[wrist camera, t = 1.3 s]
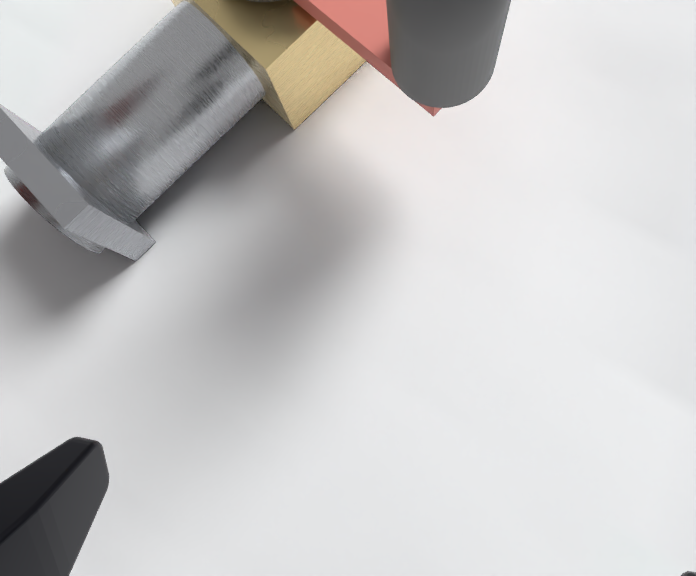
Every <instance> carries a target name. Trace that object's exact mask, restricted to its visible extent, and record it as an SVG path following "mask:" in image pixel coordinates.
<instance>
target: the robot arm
mask: <svg viewBox="0 0 696 576" xmlns="http://www.w3.org/2000/svg"><path fill="white" fill-rule="evenodd" d="M108 484H109V473H108V468H107V464H106V459H105V455H104V451H103V447H102V445H101V444H100V443H99V442H98V441H95V440H90V439H86V438H81V437H74V438H71V439H69V440H67V441H66V442H64V443H62V444H61V445H59V446H58V447H56V448H55V449H53V450H51V451H50V452H48V453H47V454H45V455H44V456H42V457H40V458H39V459H37V460H36V461H34V462H33V463H31V464H29V465H28V466H26V467H25V468H23V469H22V470H20V471H18V472H17V473H15V474H14V475H12V476H11V477H9V478H8V479H6V480H4V481H3V482H1V483H0V576H69V574H70V572H71V570H72V568H73V565H74V563H75V561H76V559H77V556H78V554H79V552H80V550H81V547H82V545H83V543H84V541H85V538H86V536H87V534H88V532H89V529H90V527H91V525H92V523H93V520H94V518H95V516H96V514H97V511H98V509H99V507H100V505H101V502H102V500H103V498H104V496H105V493H106V491H107V488H108ZM681 576H696V572H691V571H687V572H685V573H683V574H682V575H681Z"/></svg>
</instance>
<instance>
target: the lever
mask: <svg viewBox="0 0 696 576" xmlns="http://www.w3.org/2000/svg"><path fill="white" fill-rule="evenodd" d="M247 1H252V2H273V1H279V0H247ZM293 1H295V2H296V3H297V4H298V5H299V6H301V7H302V8H303V9H304V10H305V11H307V12H308V13H309V14H310V15H311V16H313V17H314V18H315V19H316V20H318V21H319V22H320V23H321V24H322V25H324V26H325V27H326V28H327V29H328V30H330V31H331V32H332V33H333V34H334V35H336V36H337V37H338V38H339V39H340V40H342V41H343V42H344V43H345V44H347V45H348V46H349V47H350V48H351V49H353V50H354V51H355V52H356V53H357V54H359V55H360V56H361V57H362V58H363V59H365V60H366V61H367V62H368V63H369V64H371V65H372V66H373V67H374V68H376V69H377V70H378V71H379V72H380V73H382V74H383V75H384V76H385V77H386V78H388V79H389V80H390V81H391V82H392V83H394V84H395V85H396V86H397V87H398V88H400V89H401V90H402V91H403V92H404V93H405V94H406V95H407V96H408V97H410V98H411V99H412V100H414V101H415V102H417V103H418V104H419V105H420V106H421V107H423V108H424V109H425V110H426V111H427V112H429V113H430V114H431V115H432V116H435V115H436V114H437V113H438V111H439V110H440V109H441V108H447V107H453V106H457V105H460V104H463V103H466V102H467V101H469V100H471V99H473V98H474V97H475V96H477V95H478V94H479V93H480V92H481V91H482V90H483V89H484V88H485V86H486V85H487V84H488V82H489V80H490V79H491V76H492V74H493V71H494V67H495V63H496V59H497V55H498V51H499V47H500V43H501V39H502V35H503V31H504V27H505V23H506V19H507V14H508V10H509V6H510V2H511V0H293Z"/></svg>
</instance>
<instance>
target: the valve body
mask: <svg viewBox="0 0 696 576" xmlns="http://www.w3.org/2000/svg"><path fill="white" fill-rule="evenodd" d="M171 1H172V2H173V4H174V5H175V8H174V9H173V10H172V11H171V12H170V13H168V14H167V15H166V16H165V17H164V18H163V19H162V20H161V21H160V22H159V23H158V24H157V25H156V26H155V27H154V28H153V29H152V30H150V31H149V32H148V33H147V34H146V35H145V36H144V37H143V38H142V39H141V40H140V41H139V42H138V43H137V44H136V45H135V46H134V47H132V48H131V49H130V50H129V51H128V52H127V53H126V54H125V55H124V56H123V57H122V58H121V59H120V60H119V61H118V62H117V63H116V64H114V65H113V66H112V67H111V68H110V69H109V70H108V71H107V72H106V73H105V74H104V75H103V76H102V77H101V78H100V79H99V80H98V81H96V82H95V83H94V84H93V85H92V86H91V87H90V88H89V89H88V90H87V91H86V92H85V93H84V94H83V95H82V96H81V97H80V98H78V99H77V100H76V101H75V102H74V103H73V104H72V105H71V106H70V107H69V108H68V109H67V110H66V111H65V112H64V113H63V114H62V115H60V116H59V117H58V118H57V119H56V120H55V121H54V122H53V123H52V124H51V125H50V126H49V127H48V128H47V129H46V130H45V131H44V132H40V131H39V130H37V129H36V128H35V127H33V126H32V125H30V124H29V123H27V122H26V121H24V120H23V119H21V118H20V117H18V116H17V115H15V114H14V113H13V112H11V111H10V110H8V109H7V108H5V107H4V106H2V105H1V104H0V158H1V159H2V160H3V161H4V162H5V163H6V164H7V165H8V166H6V167H5V169H4V172H5V175H6V177H7V178H8V180H9V181H10V183H11V184H12V185H13V187H14V188H15V189H16V190H17V192H18V193H19V194H20V195H21V196H22V197H23V198H24V199H25V200H26V201H27V202H28V203H29V204H30V205H31V206H32V207H33V208H34V209H35V210H36V211H37V212H38V213H39V214H40V215H41V216H42V217H43V218H45V219H46V220H47V221H48V222H49V223H50V224H52V225H53V226H54V227H55V228H57V229H58V230H59V231H60V232H62V233H63V234H64V235H66V236H67V237H68V238H70V239H71V240H73V241H74V242H76V243H77V244H79V245H80V246H82V247H84V248H85V249H87V250H89V251H92V252H94V253H101V252H102V251H103V250H104V249H105V248H108V249H110V250H112V251H115V252H117V253H119V254H121V255H124V256H126V257H128V258H130V259H132V260H135V261H136V260H137V259H138V258H140V257H141V256H142V255H143V254H144V253H145V252H146V251H147V250H148V249H149V248H150V247H151V246H152V245H153V244H154V243H155V241H154V240H153V239H152V237H151V236H150V235H149V234H148V233H147V232H146V231H145V230H144V229H143V228H142V227H141V226H140V225H139V223H138V222H137V221H136V220H135V219H136V218H137V217H138V216H140V215H141V214H142V213H143V212H144V211H145V210H146V209H147V208H148V207H149V206H150V205H151V204H152V203H153V202H154V201H155V200H156V199H157V198H158V197H159V196H160V195H161V194H162V193H164V192H165V191H166V190H167V189H168V188H169V187H170V186H171V185H172V184H173V183H174V182H175V181H176V180H177V179H178V178H179V177H180V176H181V175H182V174H183V173H184V172H185V171H187V170H188V169H189V168H190V167H191V166H192V165H193V164H194V163H195V162H196V161H197V160H198V159H199V158H200V157H201V156H202V155H203V154H204V153H205V152H206V151H207V150H208V149H210V148H211V147H212V146H213V145H214V144H215V143H216V142H217V141H218V140H219V139H220V138H221V137H222V136H223V135H224V134H225V133H226V132H227V131H228V130H229V129H230V128H231V127H232V126H234V125H235V124H236V123H237V122H238V121H239V120H240V119H241V118H242V117H243V116H244V115H245V114H246V113H247V112H248V111H249V110H250V109H251V108H252V107H253V106H254V105H255V104H257V103H258V102H259V101H260V100H261V99H263V100H264V101H265V102H266V103H267V104H268V105H269V106H270V107H271V108H272V109H273V110H274V111H275V112H276V113H277V114H278V115H279V116H280V117H281V118H282V119H283V120H285V121H286V122H287V123H288V124H289V125H290V126H291V127H292V128H293V129H294V130H295V129H296V128H297V127H298V126H299V125H300V124H301V123H302V122H303V121H304V120H305V119H306V118H307V117H308V116H309V115H310V114H311V113H313V112H314V111H315V110H316V109H317V108H318V107H319V106H320V105H321V104H322V103H323V102H324V101H325V100H326V99H327V98H328V97H329V96H330V95H331V94H332V93H333V92H334V91H335V90H336V89H337V88H339V87H340V86H341V85H342V84H343V83H344V82H345V81H346V80H347V79H348V78H349V77H350V76H351V75H352V74H353V73H354V72H355V71H356V70H357V69H358V68H359V67H360V66H361V65H362V64H363V63H365V62H366V60H365V59H363V58H362V57H361V56H360V55H359V54H357V53H356V52H355V51H354V50H353V49H351V48H350V47H349V46H348V45H347V44H345V43H344V42H343V41H342V40H340V39H339V38H338V37H337V36H336V35H334V34H333V33H332V32H331V31H330V30H328V29H327V28H326V27H325V26H324V25H322V24H321V23H320V22H319V21H318V20H316V19H315V18H314V17H313V16H311V15H310V14H309V13H308V12H307V11H305V10H304V9H303V8H302V7H301V6H299V5H298V4H297V3H296V2H295V1H293V0H279V1H273V2H252V1H247V0H171Z"/></svg>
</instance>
